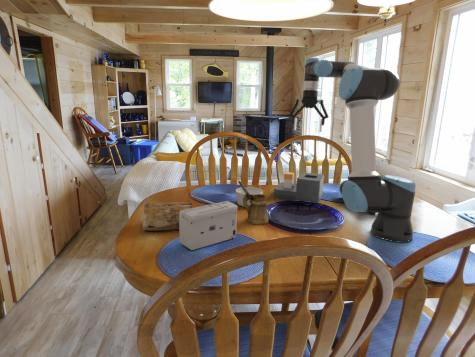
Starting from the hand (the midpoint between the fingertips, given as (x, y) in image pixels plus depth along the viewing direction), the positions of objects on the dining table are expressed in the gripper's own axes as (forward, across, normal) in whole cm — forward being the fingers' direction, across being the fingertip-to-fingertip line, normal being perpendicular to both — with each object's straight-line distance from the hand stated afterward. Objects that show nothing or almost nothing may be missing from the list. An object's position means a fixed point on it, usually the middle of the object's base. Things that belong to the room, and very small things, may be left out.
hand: (307, 130), depth 177 cm
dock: (+34, +1, +10) cm, 36 cm away
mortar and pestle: (+35, +13, +52) cm, 64 cm away
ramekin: (+35, +22, +31) cm, 52 cm away
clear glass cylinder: (+32, +7, +10) cm, 34 cm away
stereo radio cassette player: (+35, +22, +78) cm, 88 cm away
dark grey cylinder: (+35, -30, +11) cm, 47 cm away
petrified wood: (+35, +43, +72) cm, 91 cm away
